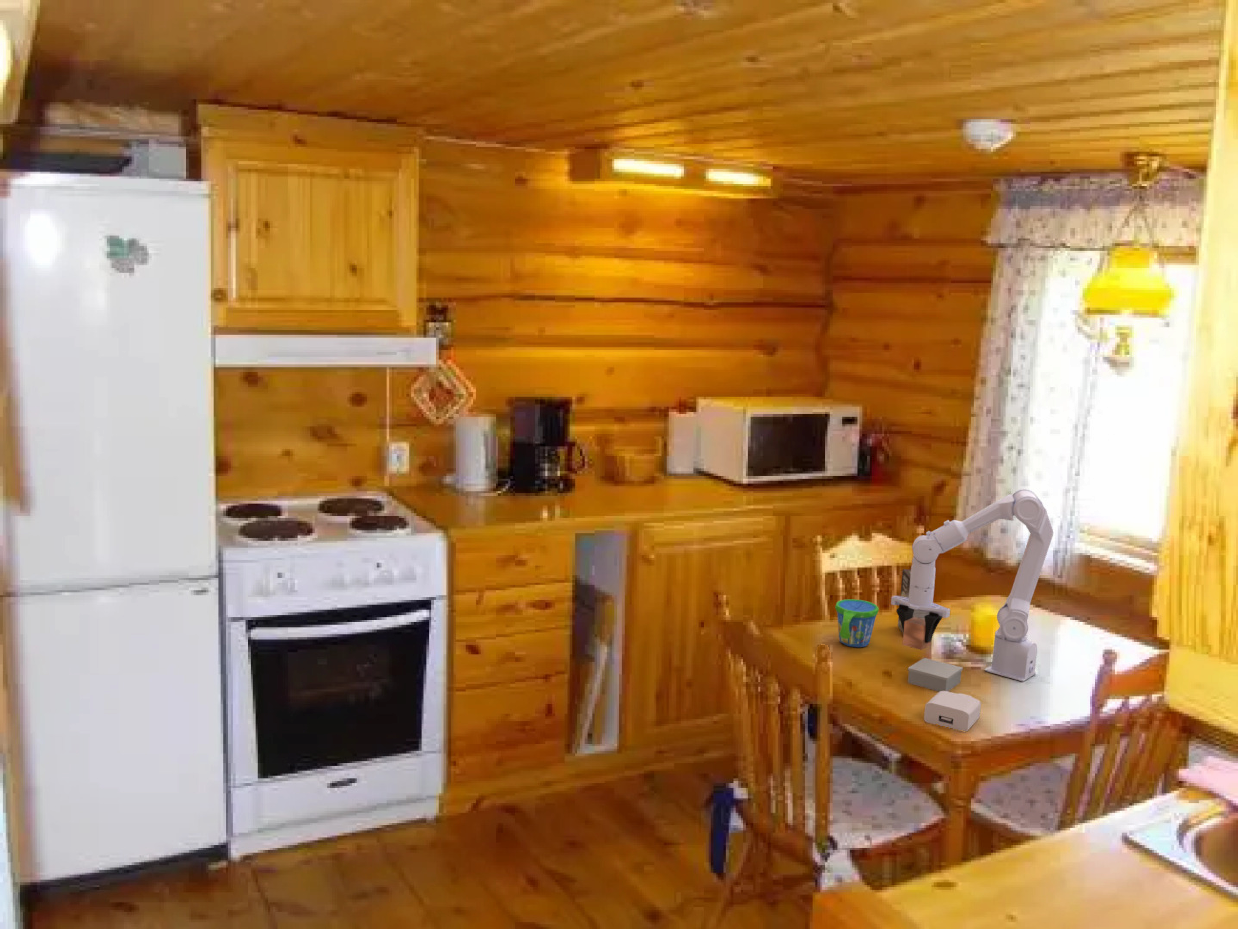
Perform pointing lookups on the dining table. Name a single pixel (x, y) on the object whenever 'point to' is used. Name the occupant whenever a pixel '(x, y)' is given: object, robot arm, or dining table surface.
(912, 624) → the terracotta block
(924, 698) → the dining table surface
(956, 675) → the slate box
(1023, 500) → the robot arm
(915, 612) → the coffee box
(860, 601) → the snack cup
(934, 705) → the charger
